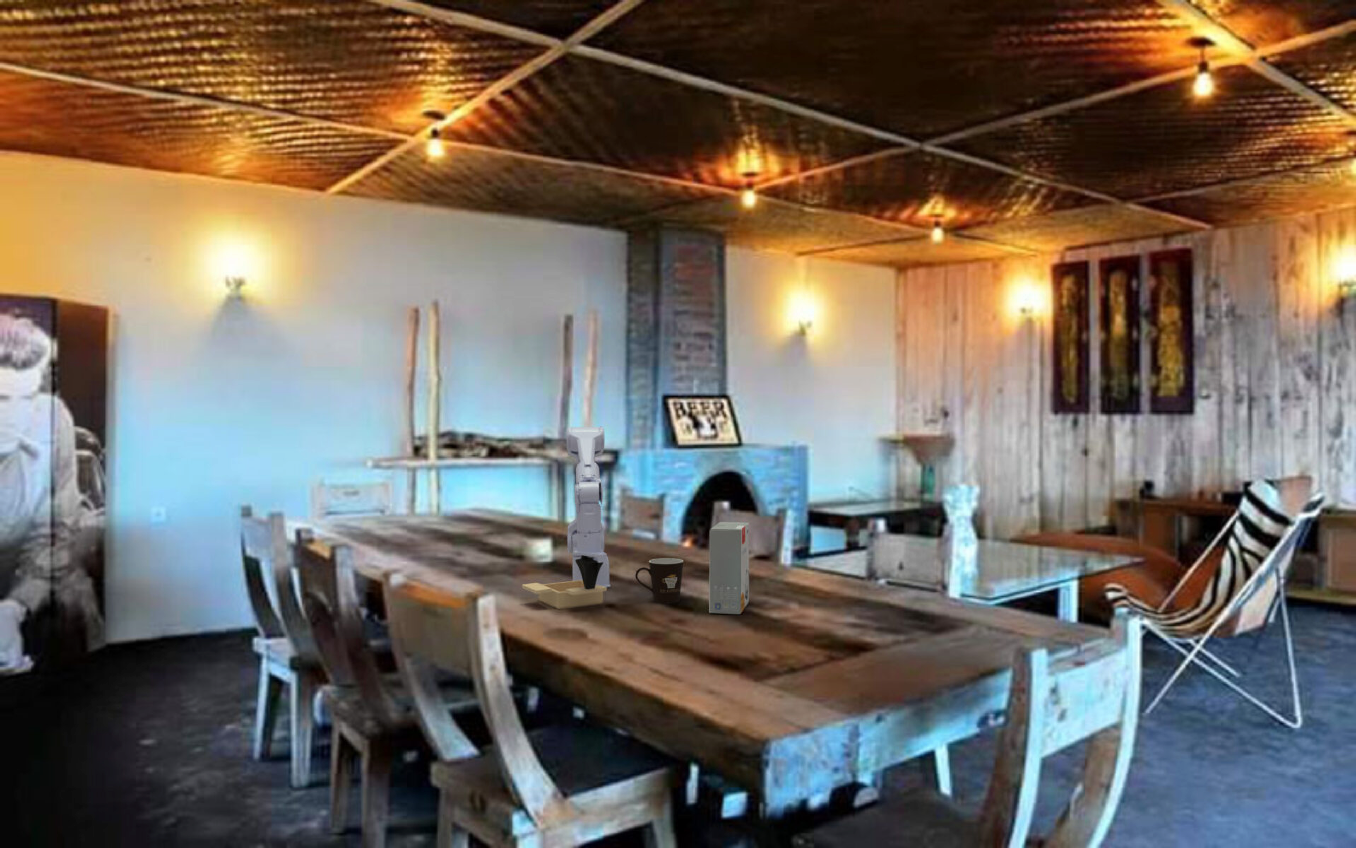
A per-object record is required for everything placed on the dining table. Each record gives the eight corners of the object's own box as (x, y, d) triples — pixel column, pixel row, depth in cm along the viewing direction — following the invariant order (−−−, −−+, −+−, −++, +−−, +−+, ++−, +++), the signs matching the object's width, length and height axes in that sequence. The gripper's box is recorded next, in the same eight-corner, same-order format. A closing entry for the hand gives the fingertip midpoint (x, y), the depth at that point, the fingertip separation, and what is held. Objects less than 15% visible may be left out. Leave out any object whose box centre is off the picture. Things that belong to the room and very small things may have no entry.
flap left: (606, 587, 227) (606, 590, 227) (599, 585, 231) (599, 588, 231) (572, 591, 223) (572, 595, 223) (565, 589, 226) (565, 592, 226)
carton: (582, 595, 243) (581, 580, 243) (603, 603, 233) (602, 587, 232) (538, 600, 237) (538, 584, 236) (558, 609, 226) (558, 592, 226)
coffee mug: (685, 597, 239) (684, 558, 239) (682, 604, 230) (681, 564, 230) (639, 597, 240) (639, 558, 240) (635, 604, 232) (634, 563, 231)
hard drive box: (741, 615, 218) (740, 529, 218) (708, 614, 220) (708, 529, 219) (749, 601, 234) (749, 521, 233) (719, 600, 235) (718, 520, 235)
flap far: (521, 584, 233) (522, 587, 233) (536, 590, 225) (536, 594, 225) (537, 582, 235) (537, 585, 235) (551, 588, 227) (551, 591, 227)
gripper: (561, 529, 229) (561, 585, 229) (587, 536, 216) (587, 595, 217) (587, 527, 233) (588, 582, 233) (614, 534, 220) (615, 592, 220)
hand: (589, 588), depth 225 cm, fingers closed
